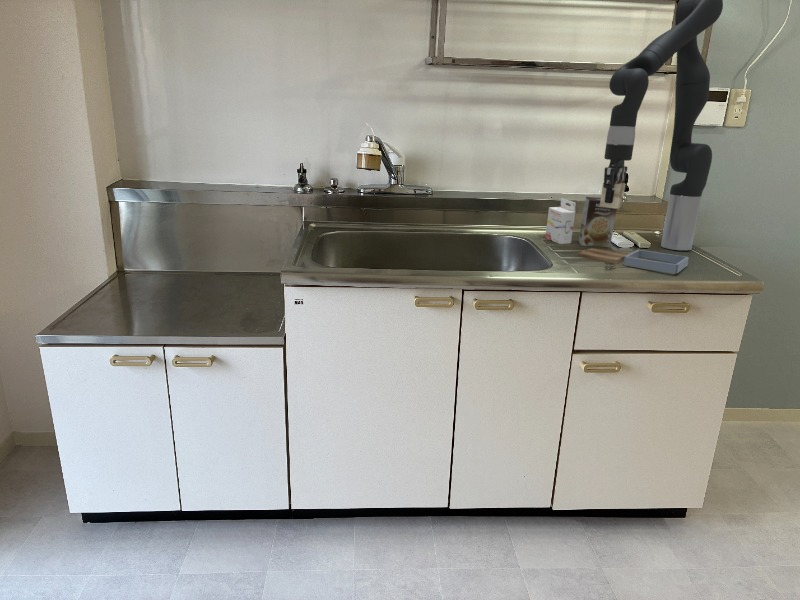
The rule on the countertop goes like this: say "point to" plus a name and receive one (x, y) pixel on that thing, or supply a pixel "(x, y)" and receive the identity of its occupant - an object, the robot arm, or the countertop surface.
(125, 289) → the countertop surface
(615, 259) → the board
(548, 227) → the ink cartridge box
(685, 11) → the robot arm
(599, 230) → the coffee box
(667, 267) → the bin
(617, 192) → the block
